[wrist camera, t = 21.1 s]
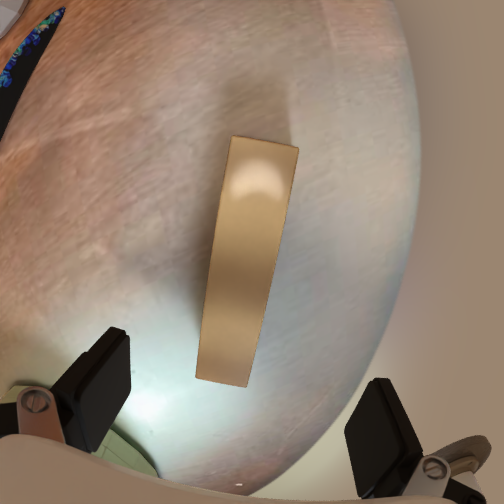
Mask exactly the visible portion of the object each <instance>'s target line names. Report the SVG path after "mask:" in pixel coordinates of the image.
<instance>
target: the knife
mask: <svg viewBox="0 0 504 504" xmlns="http://www.w3.org/2000/svg"><path fill="white" fill-rule="evenodd" d="M65 9H66V8H65V7H64V6H63V7H62V8H60V9H58V10H57V11H55V12H53V13H52V14H50V15H49V16H48V17H47V18H46V19H44V20H43V21H42V22H41V23H40V24H39V25H38V26H36V27H35V28H34V29H33V31H32V32H31V33H30V34H29V35H28V36H27V37H26V38H25V39H24V41H23V42H22V43H21V44H20V46H19V47H18V48H17V49H16V51H15V52H14V53H13V55H12V57H11V58H10V60H9V61H8V63H7V64H6V66H5V68H4V70H3V71H2V73H1V75H0V141H1V138H2V136H3V134H4V131H5V129H6V127H7V125H8V122H9V120H10V118H11V115H12V113H13V111H14V109H15V107H16V104H17V102H18V100H19V98H20V96H21V94H22V92H23V90H24V88H25V86H26V84H27V82H28V80H29V78H30V76H31V74H32V72H33V70H34V68H35V66H36V65H37V63H38V61H39V59H40V57H41V55H42V54H43V52H44V50H45V48H46V47H47V45H48V43H49V42H50V40H51V38H52V36H53V34H54V32H55V30H56V28H57V27H58V25H59V23H60V21H61V19H62V17H63V15H64V12H65Z"/></svg>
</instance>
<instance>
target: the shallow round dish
mask: <svg viewBox="0 0 504 504" xmlns="http://www.w3.org/2000/svg"><path fill="white" fill-rule="evenodd" d="M27 387H31V386H17V385H15V386H13V387H12V388H11V389H10V390H8V391H7V392H6V393H5V394H4V395H3V396H2V397H1V399H0V404H1V403H11V402H16V401H17V396H18V394H19V393H20V392H21V391H22V390H23V389H25V388H27ZM91 454H92V455H94V456H96V457H99V458H101V459H104V460H107V461H109V462H112V463H115V464H117V465H120V466H123V467H126V468H129V469H132V470H135V471H138V472H141V473H144V474H147V475H151V476H154V477H157V478H158V475H157V473H156V471H155V469H154V468H153V467H152V466H151V465H150V464H149V463H148V462H147V460H146V459H145V458H144V457H143V456H142V455H141V454H140V453H139V452H138V451H137V450H136V449H134V448H133V447H132V446H131V445H129V444H128V443H127V442H126V441H125V440H123V439H122V438H121V437H120V436H119V435H117V434H116V433H115V432H114V431H112V430H111V429H109V431H108V432H107V434H106V436H105V438H104V439H103V441H102V443H101V445H100V447H99V448H98V450H97V451H96V452H95V453H94V452H91Z"/></svg>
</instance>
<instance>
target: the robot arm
mask: <svg viewBox="0 0 504 504" xmlns="http://www.w3.org/2000/svg"><path fill="white" fill-rule="evenodd" d="M130 391H131V371H130V337H129V335H126V332H125V330H122V329H119V328H115V327H110V328H109V329H108V330H107V331H106V332H105V333H104V334H103V335H102V336H101V337H100V338H99V339H98V341H97V342H96V343H95V344H94V345H93V346H92V347H91V348H90V349H89V350H88V351H87V352H84V353H82V354H81V355H80V356H79V357H78V359H77V360H76V361H75V362H74V363H73V364H72V365H71V366H70V367H69V368H68V370H67V371H66V372H65V373H64V374H63V375H62V376H61V377H60V378H59V380H58V381H57V382H56V383H55V384H54V385H53V386H52V387H51V389H50V390H47V389H46V388H43V387H40V386H31V387H27V388H25V389H23V390H22V391H21V392H20V393H19V394H18V396H17V401H16V402H11V403H1V404H0V504H487V501H486V499H485V497H484V495H483V493H482V491H481V488H480V486H479V484H478V483H477V480H476V478H475V476H474V472H475V471H476V470H477V468H478V465H479V462H478V460H477V458H476V457H474V456H467V457H463V458H461V459H458V460H455V461H453V462H451V463H449V464H448V463H447V462H446V461H445V459H443V458H442V457H440V456H437V455H426V456H423V453H422V452H423V449H422V447H421V445H420V442H419V440H418V438H417V436H416V434H415V431H414V429H413V427H412V425H411V422H410V420H409V418H408V416H407V414H406V412H405V410H404V408H403V406H402V404H401V401H400V400H399V397H398V395H397V393H396V391H395V389H394V387H393V385H392V383H391V381H390V379H388V378H374V379H373V381H370V382H369V383H368V385H367V387H366V389H365V391H364V393H363V395H362V396H361V399H360V400H359V402H358V404H357V406H356V408H355V410H354V411H353V413H352V415H351V417H350V419H349V420H348V422H347V424H346V426H345V430H344V434H345V439H346V443H347V447H348V452H349V456H350V461H351V466H352V470H353V475H354V480H355V485H356V489H357V494H358V496H359V497H361V498H362V499H361V500H341V501H300V500H280V499H268V498H258V497H250V496H242V495H235V494H229V493H223V492H217V491H212V490H206V489H202V488H197V487H192V486H188V485H184V484H180V483H176V482H172V481H168V480H164V479H161V478H157V477H154V476H151V475H147V474H144V473H141V472H138V471H135V470H132V469H129V468H126V467H123V466H120V465H117V464H115V463H112V462H109V461H107V460H104V459H101V458H99V457H96V456H94V455H92V454H91V452H94V453H95V452H96V451H97V450H98V448H99V447H100V445H101V443H102V441H103V439H104V438H105V436H106V434H107V432H108V431H109V429H110V427H111V425H112V424H113V422H114V420H115V418H116V417H117V415H118V413H119V411H120V410H121V408H122V406H123V404H124V403H125V401H126V399H127V398H128V396H129V394H130Z"/></svg>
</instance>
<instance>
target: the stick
mask: <svg viewBox="0 0 504 504" xmlns="http://www.w3.org/2000/svg"><path fill="white" fill-rule="evenodd" d="M298 154H299V148H298V147H294V146H289V145H285V144H280V143H275V142H269V141H264V140H259V139H253V138H247V137H241V136H235V135H233V136H231V140H230V145H229V151H228V156H227V162H226V167H225V173H224V178H223V184H222V190H221V196H220V202H219V208H218V214H217V220H216V226H215V232H214V239H213V245H212V252H211V259H210V265H209V272H208V279H207V286H206V294H205V301H204V308H203V316H202V324H201V332H200V340H199V348H198V357H197V366H196V375H195V377H196V378H197V379H202V380H207V381H212V382H217V383H222V384H227V385H233V386H239V387H245V388H246V387H247V384H248V380H249V376H250V372H251V368H252V364H253V360H254V356H255V352H256V347H257V343H258V339H259V335H260V330H261V326H262V322H263V318H264V313H265V309H266V305H267V300H268V296H269V291H270V287H271V283H272V278H273V274H274V269H275V265H276V260H277V255H278V251H279V246H280V242H281V237H282V232H283V228H284V223H285V218H286V213H287V209H288V204H289V199H290V194H291V189H292V184H293V179H294V174H295V169H296V164H297V159H298Z"/></svg>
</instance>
